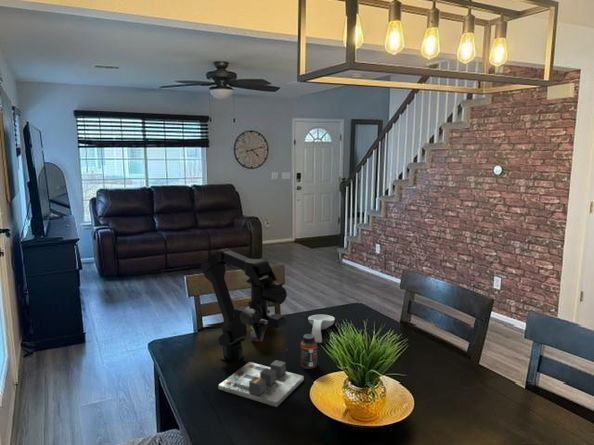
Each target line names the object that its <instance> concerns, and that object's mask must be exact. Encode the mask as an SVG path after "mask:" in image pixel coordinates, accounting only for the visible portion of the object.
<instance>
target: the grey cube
mask: <svg viewBox="0 0 594 445" xmlns="http://www.w3.org/2000/svg"><path fill="white" fill-rule="evenodd" d="M265 390H266V380H265V379H262V378H260V377H259V378H258V377H254V378H253V379H252V380H251V381H249V392H251V393H254V394H257V395H261V394H262V393H263V392H264V391H265Z"/></svg>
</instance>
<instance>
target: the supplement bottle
mask: <svg viewBox="0 0 594 445" xmlns="http://www.w3.org/2000/svg"><path fill="white" fill-rule="evenodd" d="M300 366H301V367H302V368H303V369H306V370H311V369H314V368H316V367H317V366H318V343H317V342H316V341H315V337H314V335H312V333H306V334H304V335H303V340H302V341H301V342H300Z"/></svg>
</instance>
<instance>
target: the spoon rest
mask: <svg viewBox="0 0 594 445" xmlns="http://www.w3.org/2000/svg"><path fill="white" fill-rule="evenodd" d="M307 319H308V321H309V323H310V325H312V329H311V334H312V335H314V337H315V341H316V342H317V344H319V343H320V344H321V343H323V337H322V330H326V329H328V328H330V327H331V326H332V325H333V324H334V323H335V320H336V318H335V317H334V316H332V315H328V314H313V315H310V316H308V318H307Z"/></svg>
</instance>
